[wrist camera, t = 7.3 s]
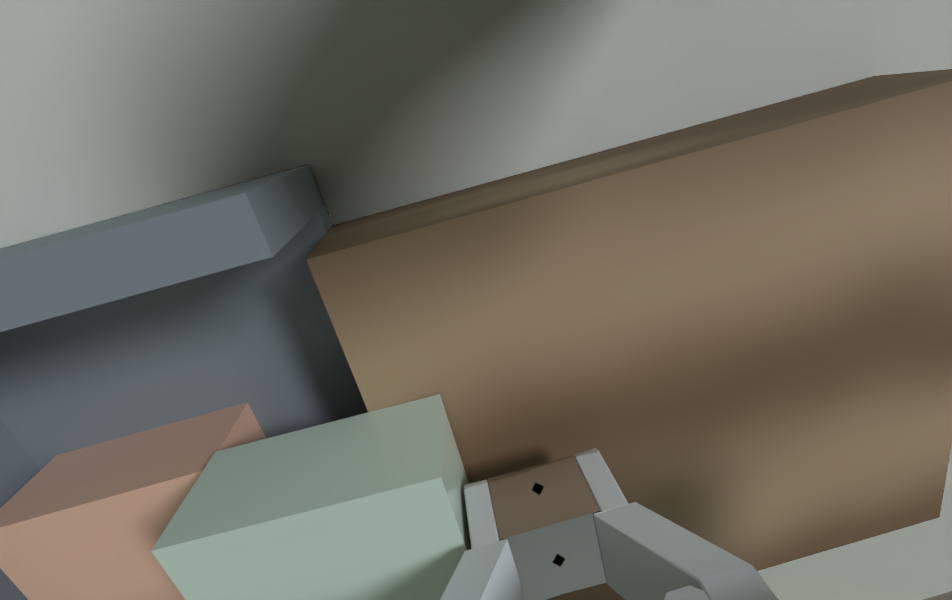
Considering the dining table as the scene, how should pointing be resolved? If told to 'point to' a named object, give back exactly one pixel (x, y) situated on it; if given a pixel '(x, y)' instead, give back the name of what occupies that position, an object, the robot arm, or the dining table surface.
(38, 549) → the tile
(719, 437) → the square wooden board
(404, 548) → the tile
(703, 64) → the dining table surface
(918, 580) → the dining table surface
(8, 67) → the dining table surface
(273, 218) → the bin
